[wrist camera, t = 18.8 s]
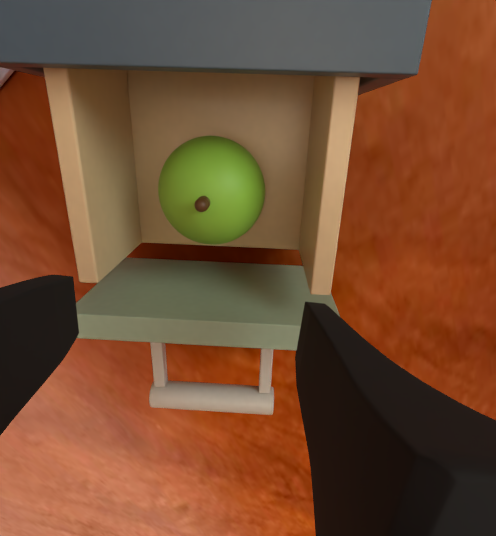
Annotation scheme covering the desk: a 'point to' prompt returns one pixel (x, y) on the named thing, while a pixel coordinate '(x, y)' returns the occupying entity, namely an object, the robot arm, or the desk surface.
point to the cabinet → (218, 37)
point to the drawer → (161, 231)
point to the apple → (211, 190)
